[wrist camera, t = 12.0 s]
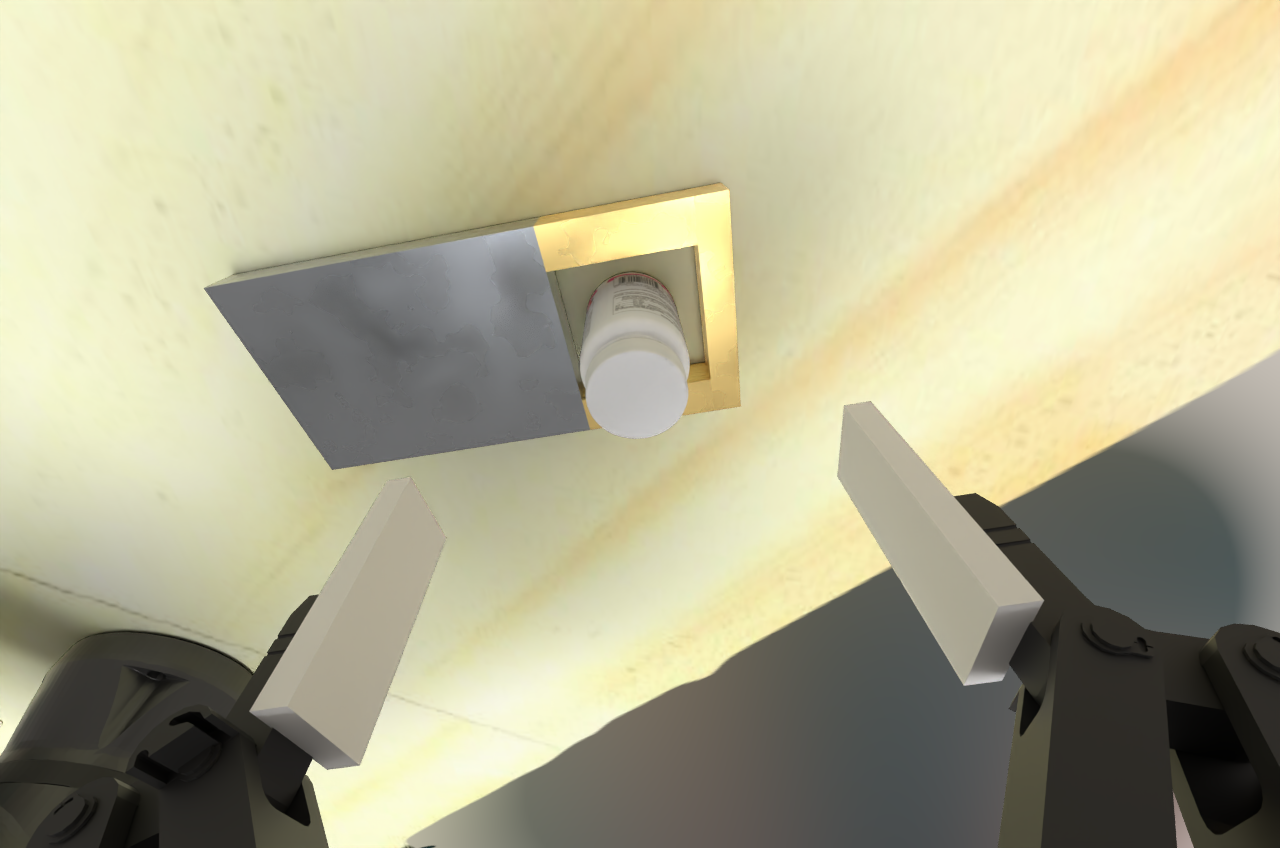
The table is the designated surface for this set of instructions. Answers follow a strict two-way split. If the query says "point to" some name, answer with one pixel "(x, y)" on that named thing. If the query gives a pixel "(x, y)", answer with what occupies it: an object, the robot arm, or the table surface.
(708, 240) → the flat tray
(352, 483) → the table surface
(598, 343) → the pill bottle
